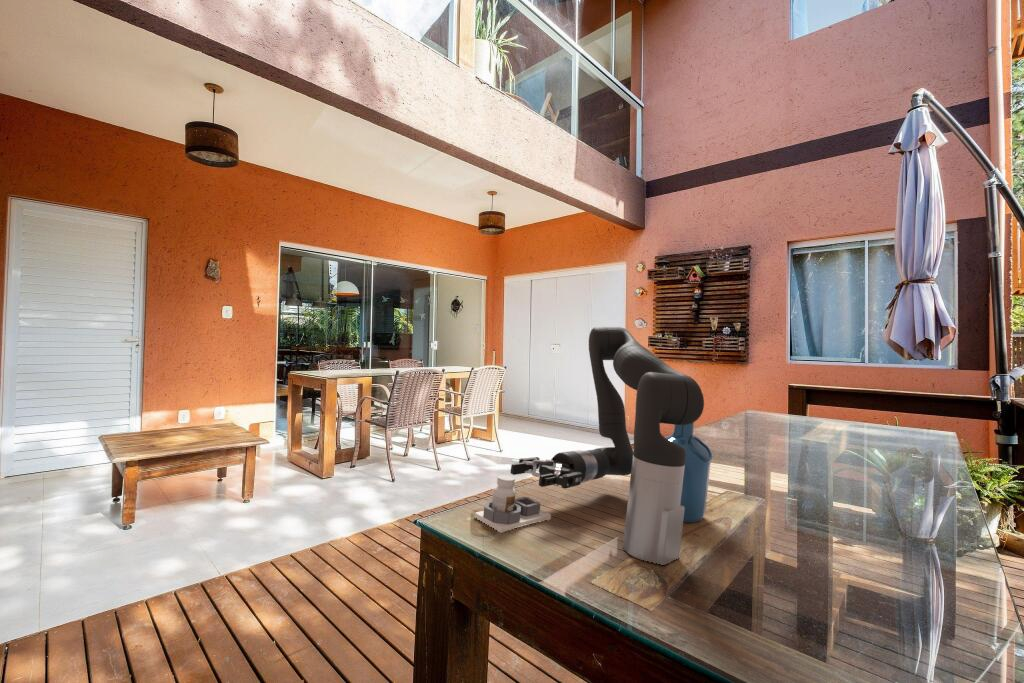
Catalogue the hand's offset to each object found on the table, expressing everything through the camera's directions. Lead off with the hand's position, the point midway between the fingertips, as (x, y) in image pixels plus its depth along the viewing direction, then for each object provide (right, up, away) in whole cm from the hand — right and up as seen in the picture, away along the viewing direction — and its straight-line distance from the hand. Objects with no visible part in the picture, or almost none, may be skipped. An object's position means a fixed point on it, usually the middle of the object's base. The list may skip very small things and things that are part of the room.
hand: (525, 475), depth 94 cm
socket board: (-3, -8, -2) cm, 9 cm away
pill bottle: (-5, -7, -4) cm, 10 cm away
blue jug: (+36, -13, +12) cm, 40 cm away
